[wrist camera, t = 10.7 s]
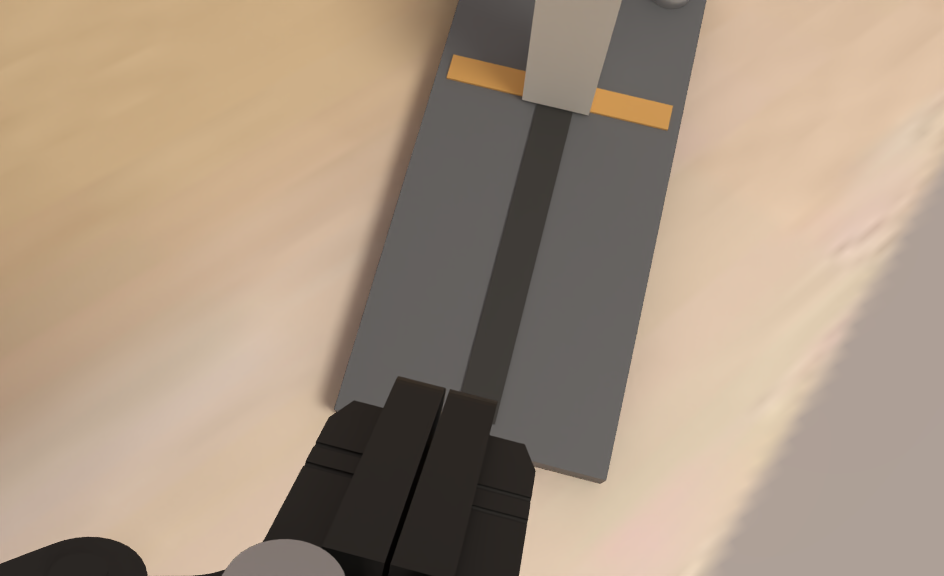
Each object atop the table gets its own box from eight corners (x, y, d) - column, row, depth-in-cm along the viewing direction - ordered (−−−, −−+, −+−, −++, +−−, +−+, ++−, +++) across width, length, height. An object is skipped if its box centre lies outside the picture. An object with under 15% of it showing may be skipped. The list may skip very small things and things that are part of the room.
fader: (516, 102, 39) (534, -43, 30) (534, 37, 40) (557, -123, 31) (592, 120, 39) (634, -20, 30) (608, 54, 40) (653, -102, 31)
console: (338, 415, 37) (326, 400, 33) (482, -59, 44) (484, -110, 40) (600, 483, 36) (614, 475, 33) (703, -9, 43) (724, -57, 40)
